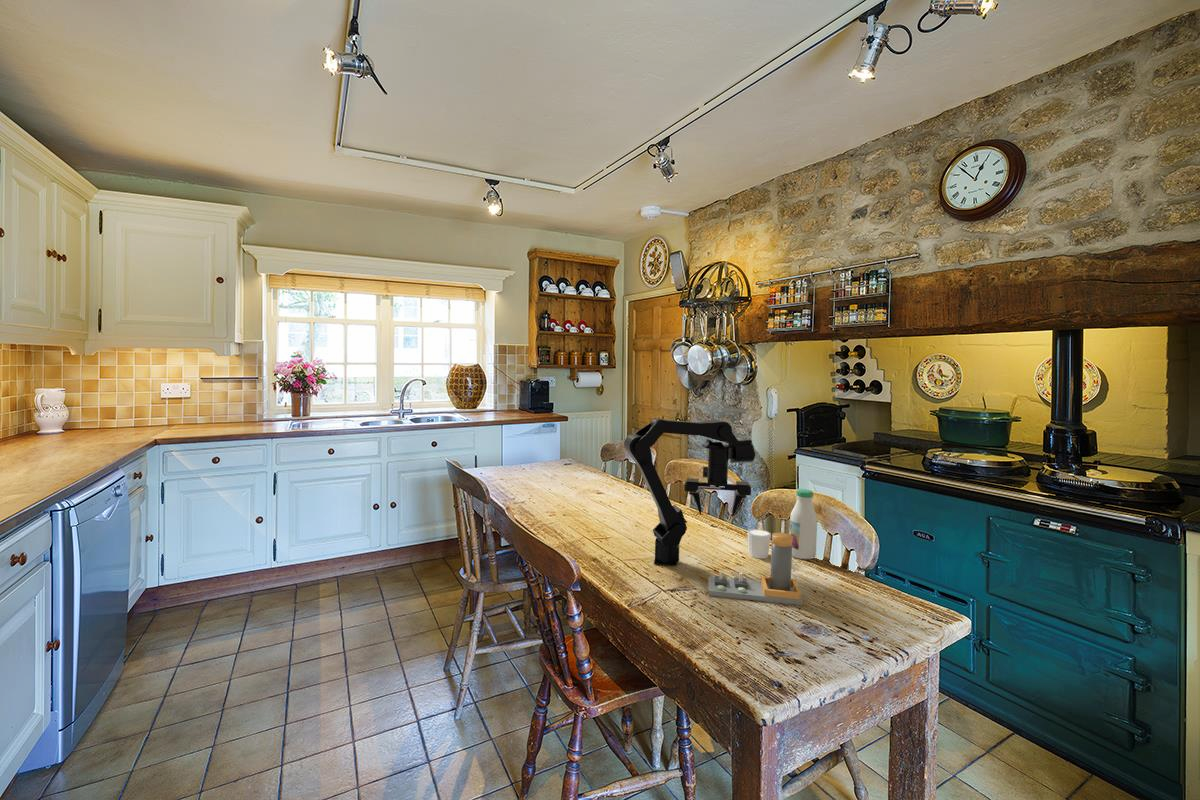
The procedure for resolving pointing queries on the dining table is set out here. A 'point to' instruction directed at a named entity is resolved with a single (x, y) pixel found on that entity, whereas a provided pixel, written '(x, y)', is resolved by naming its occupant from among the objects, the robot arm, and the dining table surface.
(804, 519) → the milk bottle
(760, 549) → the white tapered cup
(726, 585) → the breaker panel
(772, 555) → the grey orange cylinder
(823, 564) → the dining table surface
